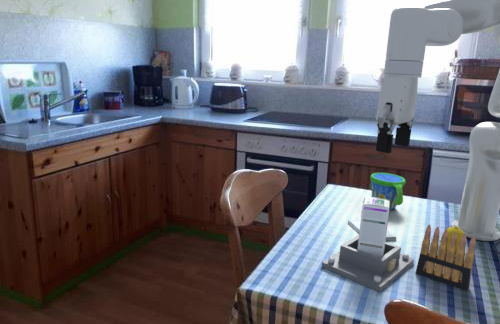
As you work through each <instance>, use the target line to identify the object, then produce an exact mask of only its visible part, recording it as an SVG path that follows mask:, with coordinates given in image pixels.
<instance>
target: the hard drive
mask: <svg viewBox="0 0 500 324" xmlns="http://www.w3.org/2000/svg"><path fill="white" fill-rule="evenodd" d="M360 223H361V218H359V219H348V220H347V224H348V225H349V226H351V227H352V228H353V229H354V231H356V232H357V233H358V234H359V231H360ZM391 241H394V242H395V241H397V236H396V235H394V234H393V233H392V232H390V231H389V230H388V229H387V234H386V241H385V242H391Z"/></svg>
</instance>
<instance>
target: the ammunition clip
mask: <svg viewBox="0 0 500 324" xmlns="http://www.w3.org/2000/svg"><path fill="white" fill-rule="evenodd" d="M443 232H444V233H443ZM443 232H442V234H443V236H442V235H441V237H442V240H441V239H440V227H439V226H437V227H435V230H434V232H433V236H432V235H431V233H432V228H431V224H430V223H429V224H428V225H427V226H426V229H425V232H424V235H423V239H422V241H421V242H422V243H421V246H420V252H419V257H418V261H417V265H416V269H415V275H418V276H421V277H423V278H426V279H429V280H432V281H435V282H438V283H441V284H444V285H446V286H450V287H452V288H455V289H458V288H459V290H461V289H462V291H464V290H465V291H464V292H468V291H469V289H470V284H471V277H472V271H473V265H474V261H475V251H476V243H477V242H476V239H475V236H473V238H470V241H469V244H468V248H467V251H466V246H467V237H466V235H465V234H463V236H462V238H461V240H460V244H459V247H458V250H457V253H456V242H457V233H456V231H455V232H454V233H453V235H452V237H451V241H450V244H449V247H448V250H447V241H448V230H447V228H446V229H444V231H443ZM431 236H432V241H431ZM439 240H440V241H439ZM439 242H440V243H439ZM446 252H447V253H446ZM455 253H456V255H455Z"/></svg>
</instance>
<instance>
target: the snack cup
mask: <svg viewBox="0 0 500 324" xmlns="http://www.w3.org/2000/svg"><path fill="white" fill-rule="evenodd" d="M405 184H406V179H405V178H404V177H403V176H400V175H397V174H395V173H388V172H374V173H372V174H371V175H370V184H369V189H370V190H371V197H376V198H382V199H387V200H389V201H390V202H389V211H392V210H394V209H396V207H397V206H400V205H402V204H403V202H404V194H403V193H404V191H403V187H404V186H405Z"/></svg>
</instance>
